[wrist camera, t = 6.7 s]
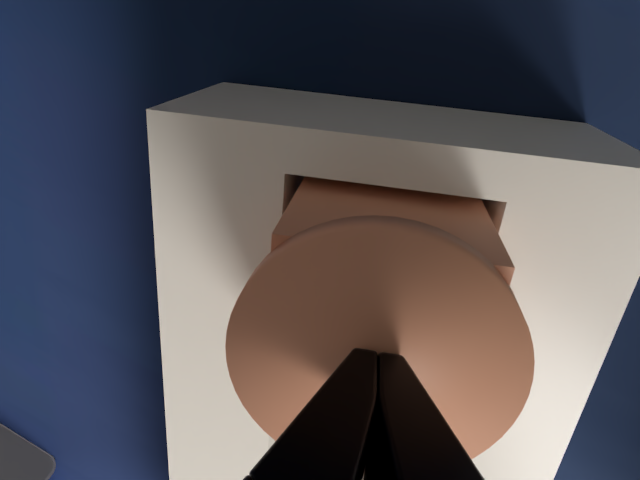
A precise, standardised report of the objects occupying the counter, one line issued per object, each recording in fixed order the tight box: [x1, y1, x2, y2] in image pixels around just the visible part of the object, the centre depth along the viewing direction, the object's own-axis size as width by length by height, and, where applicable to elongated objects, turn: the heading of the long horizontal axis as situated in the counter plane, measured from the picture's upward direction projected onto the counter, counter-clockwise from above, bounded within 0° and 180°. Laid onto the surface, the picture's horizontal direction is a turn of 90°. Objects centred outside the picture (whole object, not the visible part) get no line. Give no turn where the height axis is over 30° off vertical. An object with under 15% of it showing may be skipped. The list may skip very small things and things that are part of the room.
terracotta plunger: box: [225, 176, 535, 459], centre depth 11 cm, size 5×5×6 cm
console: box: [146, 82, 640, 480], centre depth 16 cm, size 11×21×5 cm, turn 175°
